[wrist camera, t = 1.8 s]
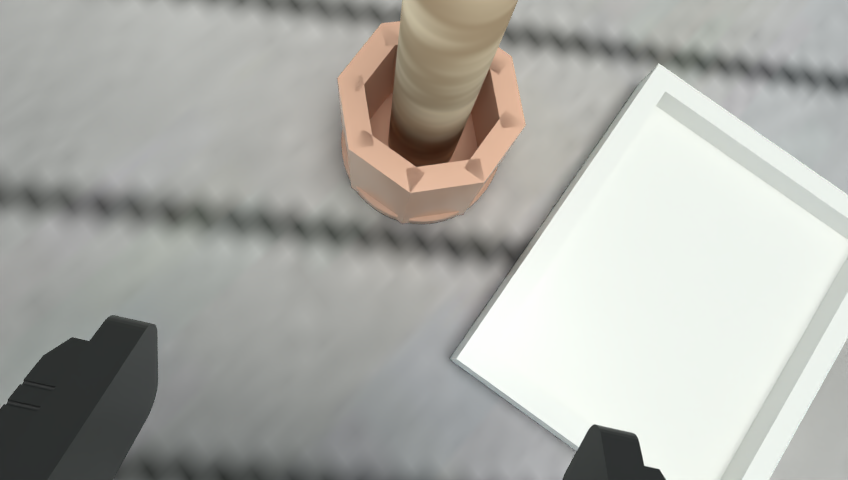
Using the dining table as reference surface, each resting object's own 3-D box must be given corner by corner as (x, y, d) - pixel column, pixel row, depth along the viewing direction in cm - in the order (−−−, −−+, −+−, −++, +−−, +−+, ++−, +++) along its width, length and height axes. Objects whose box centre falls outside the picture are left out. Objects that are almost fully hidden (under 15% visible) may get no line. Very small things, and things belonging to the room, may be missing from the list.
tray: (449, 358, 31) (456, 358, 29) (638, 84, 35) (659, 63, 32) (698, 539, 31) (727, 554, 28) (866, 243, 34) (904, 234, 32)
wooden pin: (374, 147, 32) (383, -62, 16) (414, 96, 32) (459, -152, 17) (429, 187, 32) (493, 15, 16) (468, 135, 32) (565, -79, 17)
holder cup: (310, 162, 32) (298, 118, 27) (402, 46, 34) (410, -21, 28) (438, 255, 32) (455, 231, 26) (526, 133, 34) (560, 85, 28)
